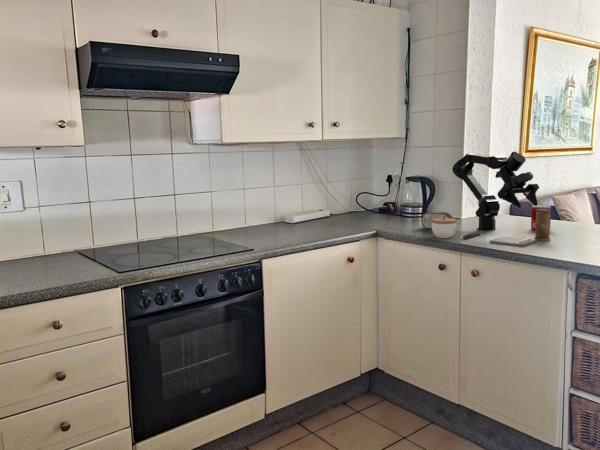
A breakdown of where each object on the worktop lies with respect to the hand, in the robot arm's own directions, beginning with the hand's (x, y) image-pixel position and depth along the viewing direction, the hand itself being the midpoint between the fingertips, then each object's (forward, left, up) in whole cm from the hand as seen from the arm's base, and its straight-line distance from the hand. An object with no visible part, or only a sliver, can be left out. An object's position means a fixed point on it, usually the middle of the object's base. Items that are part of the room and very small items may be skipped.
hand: (528, 206), depth 225 cm
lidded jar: (-29, -19, -14) cm, 37 cm away
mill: (+7, -3, -13) cm, 15 cm away
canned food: (-3, +21, -14) cm, 25 cm away
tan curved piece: (-42, -3, -14) cm, 44 cm away
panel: (0, -14, -13) cm, 20 cm away
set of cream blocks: (+6, -16, -12) cm, 21 cm away
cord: (-19, -13, -13) cm, 26 cm away
